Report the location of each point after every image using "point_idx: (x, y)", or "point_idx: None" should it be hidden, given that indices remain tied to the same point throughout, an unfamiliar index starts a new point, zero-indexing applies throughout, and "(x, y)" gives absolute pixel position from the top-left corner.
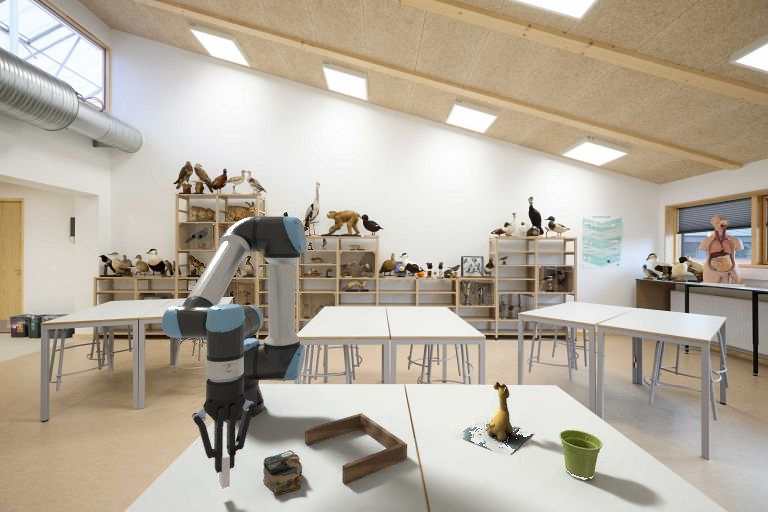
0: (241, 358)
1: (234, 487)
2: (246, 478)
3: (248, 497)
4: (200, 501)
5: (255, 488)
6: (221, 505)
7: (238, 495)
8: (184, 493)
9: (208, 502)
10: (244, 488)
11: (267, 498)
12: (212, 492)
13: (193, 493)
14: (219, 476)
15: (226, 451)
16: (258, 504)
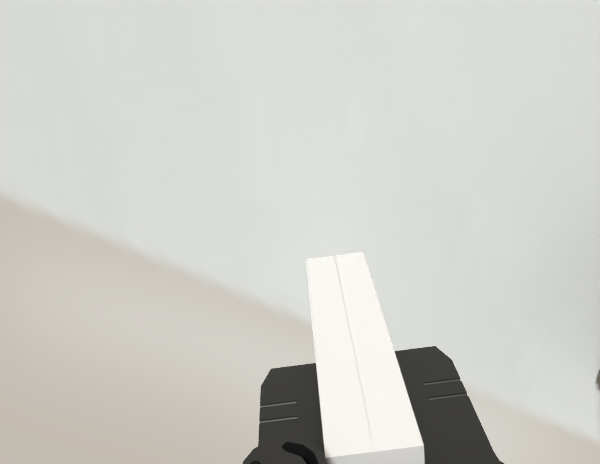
0: None
1: (412, 172)
2: (522, 94)
3: (467, 314)
4: (178, 228)
5: (536, 246)
6: (304, 319)
7: (417, 270)
8: (52, 78)
9: (229, 260)
10: (471, 214)
11: (560, 365)
12: (258, 162)
13: (122, 111)
14: (308, 284)
15: (416, 459)
16: (498, 391)
